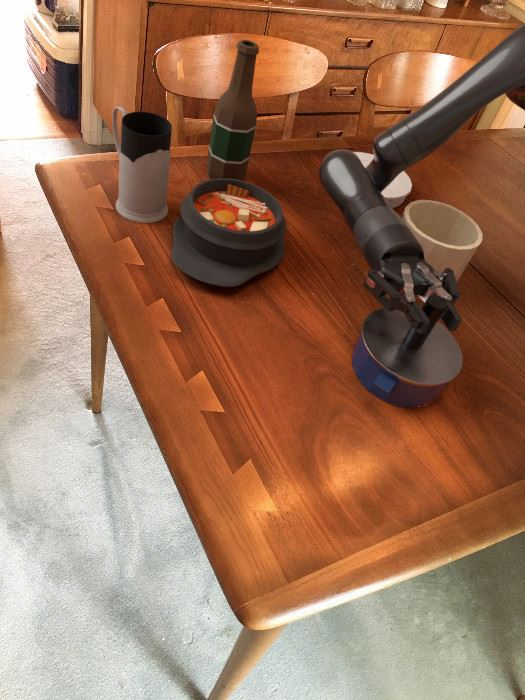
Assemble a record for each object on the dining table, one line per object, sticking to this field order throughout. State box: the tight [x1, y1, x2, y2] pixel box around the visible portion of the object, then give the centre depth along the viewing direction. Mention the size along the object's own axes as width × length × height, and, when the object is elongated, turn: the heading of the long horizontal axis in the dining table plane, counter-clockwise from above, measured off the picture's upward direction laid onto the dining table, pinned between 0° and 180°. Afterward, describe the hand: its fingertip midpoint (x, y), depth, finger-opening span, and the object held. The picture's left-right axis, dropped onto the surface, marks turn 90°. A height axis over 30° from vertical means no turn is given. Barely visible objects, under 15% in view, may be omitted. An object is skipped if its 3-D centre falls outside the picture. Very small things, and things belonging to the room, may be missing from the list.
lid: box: [352, 151, 413, 209], centre depth 116 cm, size 17×20×3 cm
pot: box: [400, 199, 483, 293], centre depth 96 cm, size 14×14×10 cm
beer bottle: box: [206, 39, 260, 181], centre depth 99 cm, size 8×8×24 cm
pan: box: [351, 319, 448, 408], centre depth 79 cm, size 14×19×5 cm
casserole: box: [170, 178, 287, 288], centre depth 89 cm, size 25×19×8 cm
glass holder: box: [112, 106, 173, 224], centre depth 91 cm, size 9×14×15 cm, turn 39°
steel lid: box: [360, 294, 464, 387], centre depth 75 cm, size 15×15×9 cm
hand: (440, 327), depth 71 cm, fingers open, 4 cm apart
